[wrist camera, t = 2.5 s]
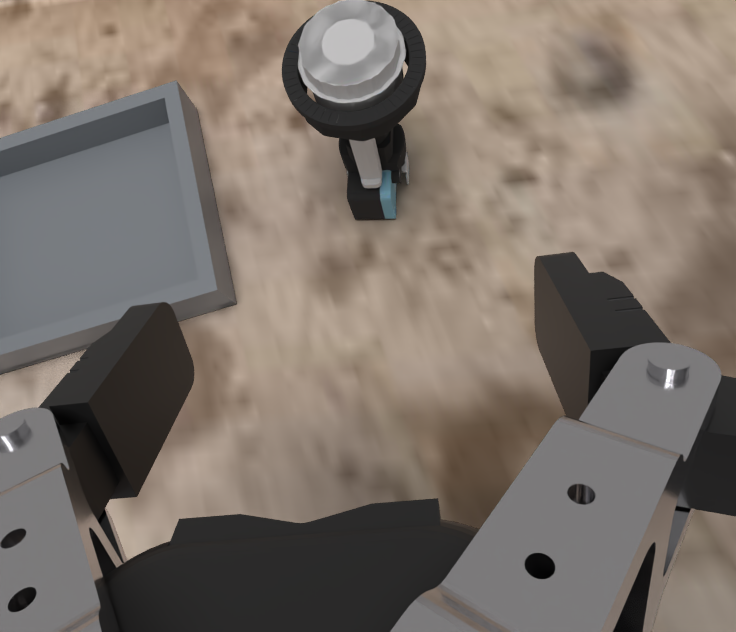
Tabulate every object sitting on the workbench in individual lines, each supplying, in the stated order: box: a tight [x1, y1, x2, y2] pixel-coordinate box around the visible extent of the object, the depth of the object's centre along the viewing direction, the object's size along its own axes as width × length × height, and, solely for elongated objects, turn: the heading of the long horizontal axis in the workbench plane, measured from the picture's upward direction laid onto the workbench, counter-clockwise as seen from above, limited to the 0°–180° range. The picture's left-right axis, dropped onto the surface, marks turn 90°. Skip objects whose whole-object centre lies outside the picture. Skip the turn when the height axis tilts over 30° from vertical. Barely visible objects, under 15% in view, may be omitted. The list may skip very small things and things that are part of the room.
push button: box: [282, 0, 426, 219], centre depth 24 cm, size 7×5×10 cm
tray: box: [0, 81, 237, 374], centre depth 29 cm, size 14×12×2 cm
